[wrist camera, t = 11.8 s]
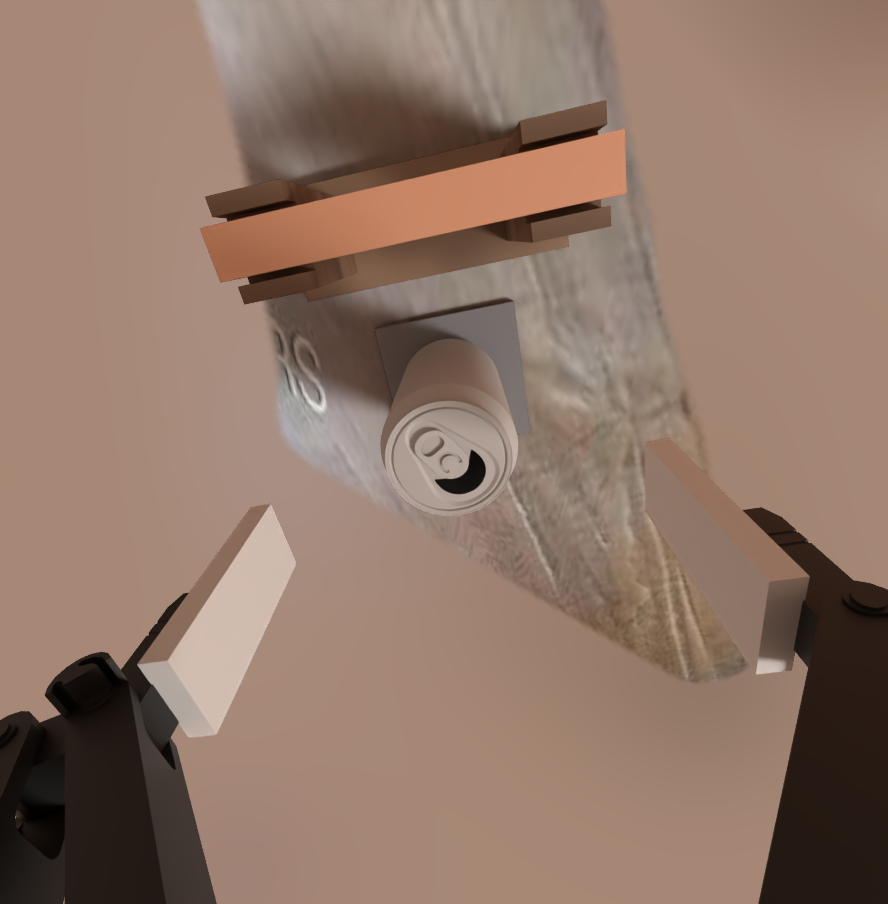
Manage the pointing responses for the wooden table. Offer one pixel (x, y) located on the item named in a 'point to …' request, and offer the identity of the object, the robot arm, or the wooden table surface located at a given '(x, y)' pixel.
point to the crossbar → (421, 207)
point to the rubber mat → (477, 326)
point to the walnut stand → (431, 251)
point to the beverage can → (449, 431)
